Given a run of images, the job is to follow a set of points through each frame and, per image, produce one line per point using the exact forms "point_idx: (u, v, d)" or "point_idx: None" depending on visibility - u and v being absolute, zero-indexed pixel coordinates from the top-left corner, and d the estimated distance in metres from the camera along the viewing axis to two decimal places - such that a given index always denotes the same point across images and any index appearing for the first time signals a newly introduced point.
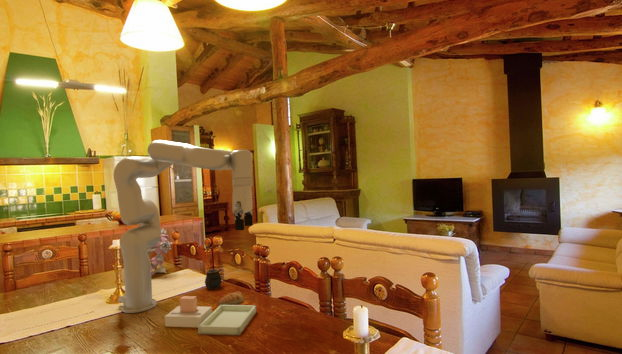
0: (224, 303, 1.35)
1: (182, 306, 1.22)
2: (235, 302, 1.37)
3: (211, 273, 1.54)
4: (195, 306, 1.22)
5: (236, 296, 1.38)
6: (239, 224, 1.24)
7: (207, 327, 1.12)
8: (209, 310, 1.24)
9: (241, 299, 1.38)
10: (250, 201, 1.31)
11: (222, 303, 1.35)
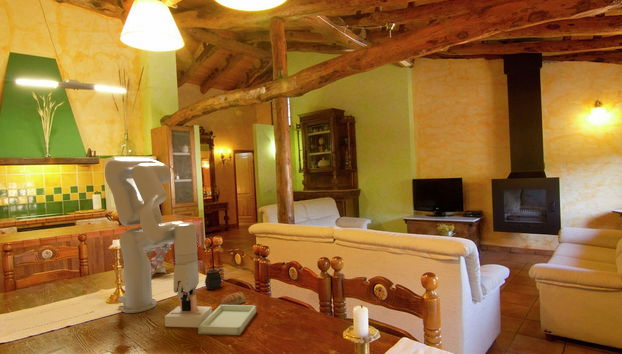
0: (226, 304, 1.34)
1: None
2: (237, 302, 1.36)
3: (211, 273, 1.54)
4: (195, 304, 1.22)
5: (238, 296, 1.37)
6: (185, 305, 1.20)
7: (207, 327, 1.12)
8: (209, 310, 1.24)
9: (243, 299, 1.38)
10: (195, 277, 1.23)
11: (224, 304, 1.34)
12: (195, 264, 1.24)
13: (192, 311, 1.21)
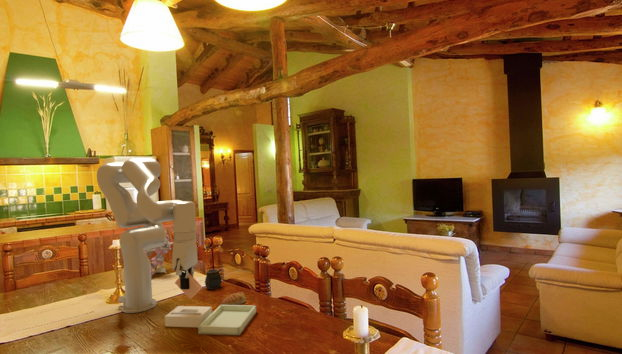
0: (227, 304, 1.34)
1: None
2: (238, 302, 1.36)
3: (211, 273, 1.54)
4: (192, 278, 1.22)
5: (239, 296, 1.37)
6: (184, 283, 1.20)
7: (207, 327, 1.12)
8: (209, 310, 1.24)
9: (244, 299, 1.38)
10: (193, 255, 1.23)
11: (225, 304, 1.34)
12: (194, 243, 1.24)
13: (192, 284, 1.21)
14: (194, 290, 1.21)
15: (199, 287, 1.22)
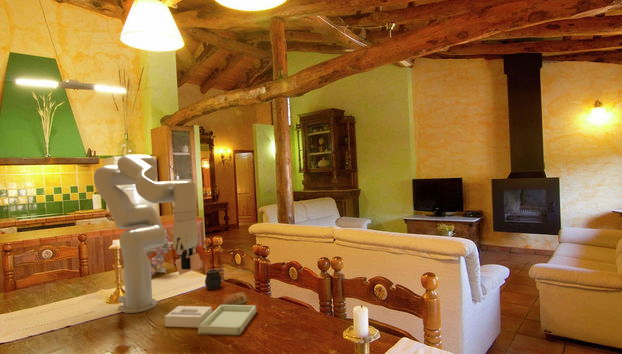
0: (228, 304, 1.34)
1: (185, 270, 1.21)
2: (239, 303, 1.36)
3: (211, 273, 1.54)
4: None
5: (240, 297, 1.37)
6: (185, 263, 1.20)
7: (207, 327, 1.12)
8: (209, 310, 1.24)
9: (245, 299, 1.38)
10: (194, 235, 1.23)
11: (226, 304, 1.34)
12: (194, 223, 1.23)
13: None
14: (194, 259, 1.20)
15: (194, 254, 1.21)
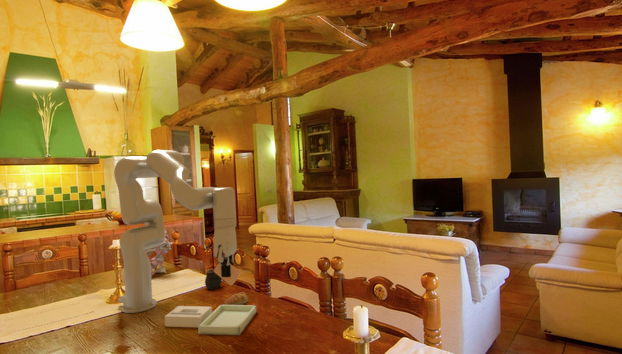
0: (230, 304, 1.34)
1: (220, 274, 1.19)
2: (240, 303, 1.36)
3: (211, 273, 1.54)
4: (230, 264, 1.20)
5: (241, 297, 1.37)
6: (225, 271, 1.18)
7: (207, 327, 1.12)
8: (209, 310, 1.24)
9: (246, 300, 1.38)
10: (234, 242, 1.21)
11: (228, 304, 1.34)
12: (234, 230, 1.21)
13: (231, 270, 1.18)
14: (234, 276, 1.18)
15: (239, 272, 1.19)
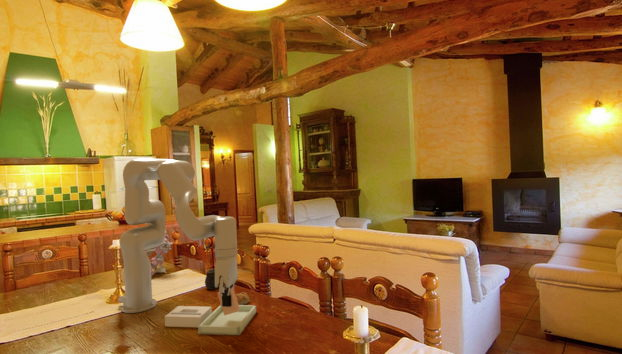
0: None
1: None
2: (242, 303, 1.36)
3: (211, 273, 1.54)
4: (234, 297, 1.20)
5: (242, 297, 1.37)
6: (226, 300, 1.18)
7: (207, 327, 1.12)
8: (209, 310, 1.24)
9: (247, 300, 1.38)
10: (235, 272, 1.21)
11: None
12: (235, 259, 1.21)
13: (233, 304, 1.19)
14: (232, 310, 1.19)
15: (237, 309, 1.20)
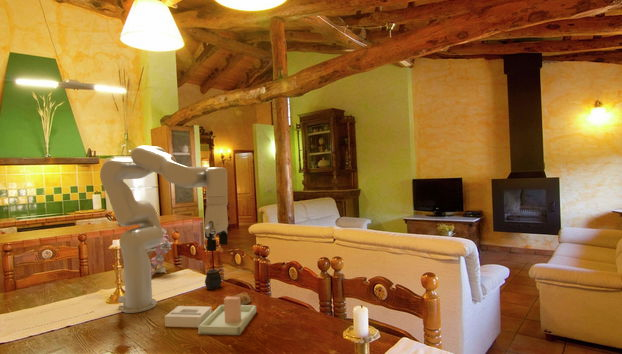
0: None
1: (226, 307, 1.19)
2: (243, 303, 1.36)
3: (211, 273, 1.54)
4: (239, 307, 1.20)
5: (244, 297, 1.36)
6: (211, 245, 1.21)
7: (207, 327, 1.12)
8: (209, 310, 1.24)
9: (249, 300, 1.37)
10: (224, 220, 1.27)
11: None
12: (225, 208, 1.27)
13: (236, 314, 1.19)
14: (234, 319, 1.19)
15: (239, 319, 1.20)
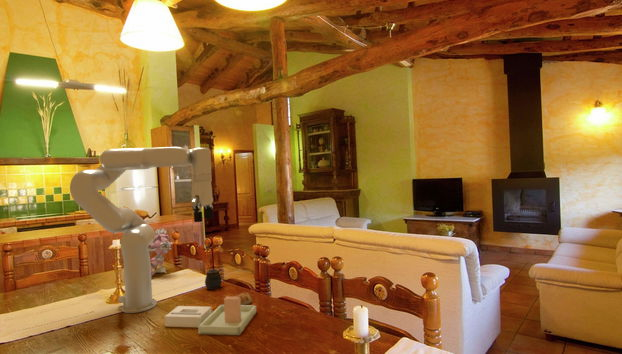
0: None
1: (226, 307, 1.19)
2: (245, 303, 1.35)
3: (211, 273, 1.54)
4: (239, 307, 1.20)
5: (245, 297, 1.36)
6: (197, 216, 1.35)
7: (207, 327, 1.12)
8: (209, 310, 1.24)
9: (250, 300, 1.37)
10: (209, 195, 1.42)
11: None
12: (209, 184, 1.42)
13: (236, 314, 1.19)
14: (234, 319, 1.19)
15: (239, 319, 1.20)
